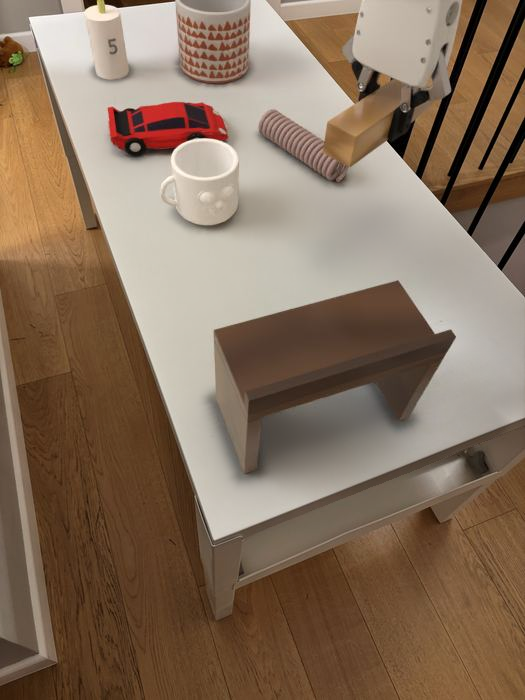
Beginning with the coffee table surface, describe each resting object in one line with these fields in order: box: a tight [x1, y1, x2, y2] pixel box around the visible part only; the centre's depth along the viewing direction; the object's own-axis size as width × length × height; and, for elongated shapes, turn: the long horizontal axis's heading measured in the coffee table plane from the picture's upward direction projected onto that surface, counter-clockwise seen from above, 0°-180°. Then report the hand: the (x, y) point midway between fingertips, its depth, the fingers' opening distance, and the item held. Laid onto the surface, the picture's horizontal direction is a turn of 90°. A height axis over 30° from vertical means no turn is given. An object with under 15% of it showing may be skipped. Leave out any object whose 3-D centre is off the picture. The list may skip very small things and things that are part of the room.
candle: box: [83, 0, 130, 81], centre depth 99 cm, size 6×6×15 cm
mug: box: [159, 138, 240, 226], centre depth 80 cm, size 12×10×9 cm
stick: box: [323, 77, 435, 169], centre depth 65 cm, size 4×18×4 cm, turn 138°
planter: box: [174, 0, 252, 84], centre depth 103 cm, size 14×14×13 cm
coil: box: [257, 108, 350, 183], centre depth 91 cm, size 5×5×18 cm
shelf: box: [213, 279, 457, 475], centre depth 58 cm, size 10×21×16 cm, turn 111°
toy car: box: [107, 101, 229, 157], centre depth 92 cm, size 10×20×5 cm, turn 107°
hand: (380, 126), depth 66 cm, fingers closed on stick, 4 cm apart
